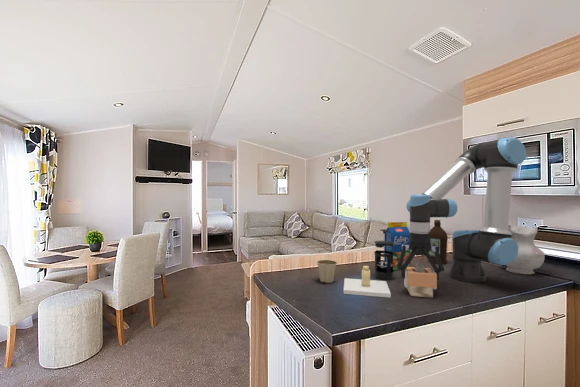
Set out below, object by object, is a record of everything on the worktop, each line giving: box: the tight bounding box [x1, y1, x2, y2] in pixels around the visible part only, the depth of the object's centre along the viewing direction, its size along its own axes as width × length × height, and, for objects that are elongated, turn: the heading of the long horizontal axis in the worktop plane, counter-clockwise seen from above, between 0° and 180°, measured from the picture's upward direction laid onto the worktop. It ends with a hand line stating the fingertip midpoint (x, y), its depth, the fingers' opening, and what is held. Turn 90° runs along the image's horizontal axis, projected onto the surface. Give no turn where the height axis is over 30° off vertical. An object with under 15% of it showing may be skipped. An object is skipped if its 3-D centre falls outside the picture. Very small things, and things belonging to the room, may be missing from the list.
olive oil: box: [428, 219, 449, 265], centre depth 165 cm, size 11×11×25 cm
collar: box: [406, 266, 438, 289], centre depth 113 cm, size 10×10×5 cm
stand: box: [406, 263, 434, 299], centre depth 113 cm, size 8×8×12 cm
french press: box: [373, 228, 395, 281], centre depth 135 cm, size 12×9×23 cm
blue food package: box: [383, 221, 411, 271], centre depth 151 cm, size 6×12×25 cm, turn 106°
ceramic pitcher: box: [505, 224, 546, 276], centre depth 146 cm, size 22×20×25 cm
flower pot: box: [316, 259, 338, 284], centre depth 128 cm, size 9×9×9 cm
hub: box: [343, 265, 392, 299], centre depth 118 cm, size 18×16×10 cm
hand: (419, 287), depth 113 cm, fingers closed on collar, 10 cm apart
